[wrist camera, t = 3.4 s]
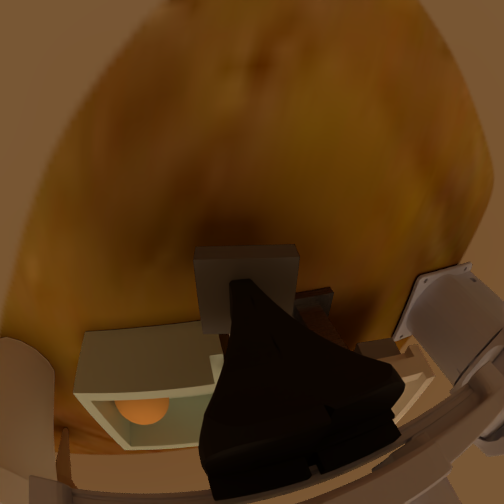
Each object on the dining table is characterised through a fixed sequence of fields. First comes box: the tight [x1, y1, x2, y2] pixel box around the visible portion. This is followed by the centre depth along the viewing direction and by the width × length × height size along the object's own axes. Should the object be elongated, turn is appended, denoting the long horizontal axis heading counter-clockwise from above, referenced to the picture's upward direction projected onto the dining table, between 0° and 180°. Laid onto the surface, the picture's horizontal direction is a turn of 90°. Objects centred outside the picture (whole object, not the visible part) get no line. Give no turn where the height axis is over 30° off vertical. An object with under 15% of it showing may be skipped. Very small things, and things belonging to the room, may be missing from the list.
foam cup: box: [0, 337, 57, 504], centre depth 10 cm, size 10×9×13 cm
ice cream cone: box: [56, 428, 78, 489], centre depth 15 cm, size 6×6×15 cm
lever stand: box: [292, 287, 349, 350], centre depth 19 cm, size 4×11×6 cm, turn 179°
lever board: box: [193, 244, 435, 425], centre depth 15 cm, size 14×15×5 cm
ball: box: [114, 397, 169, 425], centre depth 17 cm, size 4×4×4 cm
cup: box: [73, 321, 224, 450], centre depth 17 cm, size 9×9×5 cm
